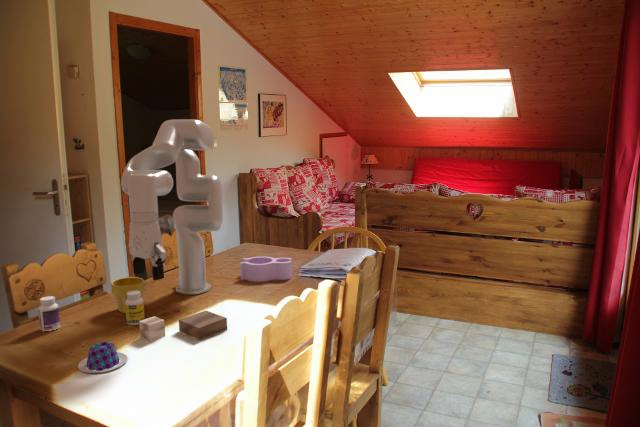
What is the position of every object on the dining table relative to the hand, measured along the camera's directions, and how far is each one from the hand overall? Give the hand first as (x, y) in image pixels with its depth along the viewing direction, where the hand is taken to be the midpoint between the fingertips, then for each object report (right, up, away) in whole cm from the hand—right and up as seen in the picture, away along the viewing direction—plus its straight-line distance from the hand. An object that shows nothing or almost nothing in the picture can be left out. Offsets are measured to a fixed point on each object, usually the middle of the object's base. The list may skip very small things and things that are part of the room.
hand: (148, 276), depth 151 cm
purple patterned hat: (-8, -22, -13) cm, 26 cm away
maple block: (0, -18, +3) cm, 18 cm away
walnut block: (+14, -17, +7) cm, 24 cm away
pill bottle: (-33, -17, +10) cm, 39 cm away
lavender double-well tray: (+28, -8, +60) cm, 67 cm away
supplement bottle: (-9, -16, +14) cm, 23 cm away
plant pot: (-15, -14, +26) cm, 33 cm away
